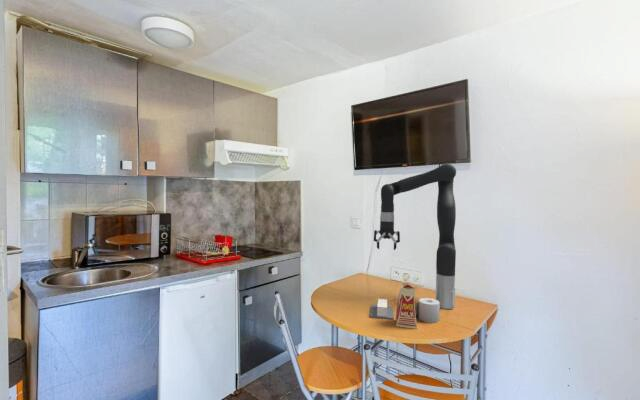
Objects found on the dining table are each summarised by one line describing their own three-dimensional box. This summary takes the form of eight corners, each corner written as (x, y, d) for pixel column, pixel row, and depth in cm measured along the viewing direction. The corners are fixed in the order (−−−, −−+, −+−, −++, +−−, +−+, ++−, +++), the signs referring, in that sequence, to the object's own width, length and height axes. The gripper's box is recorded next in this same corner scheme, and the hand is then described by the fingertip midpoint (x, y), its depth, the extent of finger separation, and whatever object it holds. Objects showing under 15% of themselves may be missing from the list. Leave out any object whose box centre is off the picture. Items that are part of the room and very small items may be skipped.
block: (377, 306, 153) (378, 298, 165) (377, 315, 153) (377, 307, 165) (387, 307, 152) (387, 299, 164) (386, 316, 152) (386, 307, 164)
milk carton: (417, 328, 142) (419, 283, 141) (396, 326, 144) (397, 282, 143) (415, 320, 151) (417, 278, 150) (395, 318, 152) (396, 276, 152)
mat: (371, 306, 168) (371, 304, 168) (393, 308, 166) (393, 306, 166) (369, 317, 153) (370, 315, 153) (393, 319, 151) (393, 318, 151)
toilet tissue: (407, 316, 156) (408, 298, 156) (432, 314, 158) (433, 297, 158) (416, 323, 147) (416, 305, 147) (442, 322, 149) (443, 304, 149)
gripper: (400, 220, 180) (399, 248, 181) (374, 219, 183) (373, 247, 184) (400, 221, 173) (399, 251, 173) (373, 220, 176) (373, 249, 176)
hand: (386, 249), depth 179 cm, fingers open, 8 cm apart
